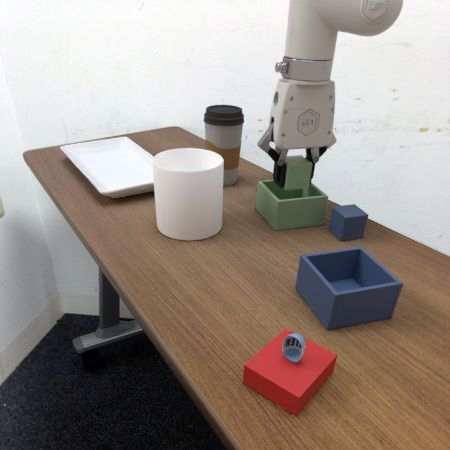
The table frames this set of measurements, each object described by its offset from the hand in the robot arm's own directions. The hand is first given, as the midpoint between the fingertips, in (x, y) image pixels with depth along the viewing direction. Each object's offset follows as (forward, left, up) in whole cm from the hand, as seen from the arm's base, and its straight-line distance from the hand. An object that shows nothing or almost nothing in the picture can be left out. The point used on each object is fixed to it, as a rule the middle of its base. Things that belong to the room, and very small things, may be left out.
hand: (292, 182), depth 77 cm
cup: (+19, -1, -7) cm, 20 cm away
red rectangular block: (+17, +38, -7) cm, 42 cm away
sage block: (0, 0, 0) cm, 0 cm away
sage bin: (0, 0, -7) cm, 7 cm away
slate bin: (+4, +27, -7) cm, 28 cm away
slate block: (-7, +9, -7) cm, 13 cm away
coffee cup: (+7, -20, -7) cm, 22 cm away
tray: (+29, -29, -7) cm, 42 cm away
